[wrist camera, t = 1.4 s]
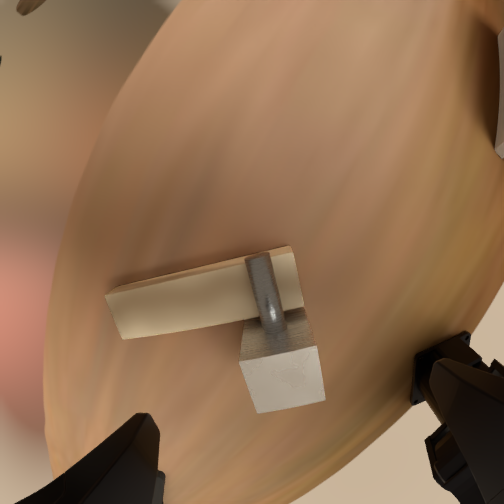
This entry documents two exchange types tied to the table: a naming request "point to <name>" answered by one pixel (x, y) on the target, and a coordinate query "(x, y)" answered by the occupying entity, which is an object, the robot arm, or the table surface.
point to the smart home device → (159, 488)
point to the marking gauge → (278, 347)
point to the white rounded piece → (501, 100)
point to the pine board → (199, 297)
